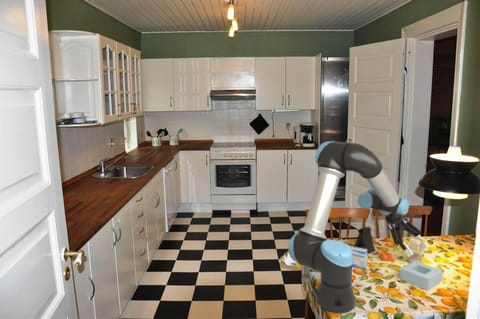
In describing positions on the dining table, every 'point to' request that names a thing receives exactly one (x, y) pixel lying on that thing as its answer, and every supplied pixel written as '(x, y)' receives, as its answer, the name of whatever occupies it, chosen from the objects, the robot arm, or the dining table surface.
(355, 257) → the medicine box
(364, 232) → the black jug
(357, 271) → the dining table surface
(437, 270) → the socket block
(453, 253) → the dining table surface
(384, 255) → the rock
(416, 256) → the peg
